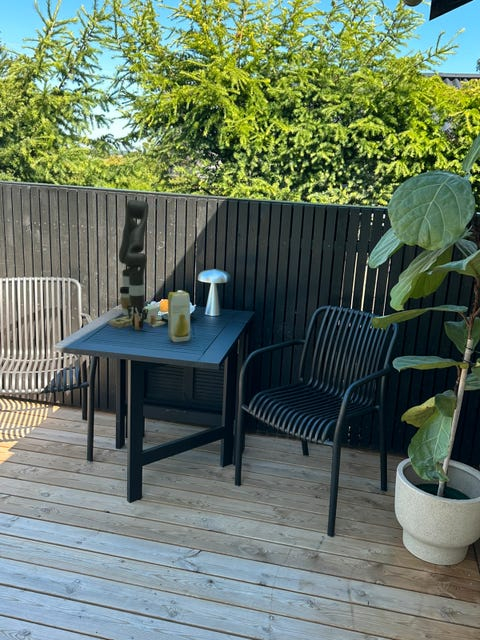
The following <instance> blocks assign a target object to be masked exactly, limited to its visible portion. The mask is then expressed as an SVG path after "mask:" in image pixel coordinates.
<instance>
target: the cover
mask: <svg viewBox="0 0 480 640" xmlns="http://www.w3.org/2000/svg"><path fill="white" fill-rule="evenodd" d="M160 307H161V308H162V306H161V305H158V304H157V305H156V304H150V305H147V306H144V308H145V309H148V315H147V319H146V320H144V323H147V324H150V323H151V315H155V316H156V322H158V321H161V320H162V318H163V317H161V316H160V315H158V312H159V311H160ZM144 317H145V316H144ZM141 318H142V317H141Z"/></svg>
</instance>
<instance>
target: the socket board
mask: <svg viewBox="0 0 480 640" xmlns="http://www.w3.org/2000/svg"><path fill="white" fill-rule="evenodd" d="M108 325H109V326H110V327H114V328H118V329H121V328H125V327H130V326H133V324H132V318H131V317H129V315H125V316H123V317H118V318H114V319H110V320H109V324H108Z"/></svg>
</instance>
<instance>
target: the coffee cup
mask: <svg viewBox="0 0 480 640" xmlns="http://www.w3.org/2000/svg"><path fill="white" fill-rule="evenodd" d="M119 293H120V302H121V309H122V315H123V316H129V315H128V310H127V305H131V303H130V302H129V287H123V286H120V288H119ZM130 313H131V312H130Z"/></svg>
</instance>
